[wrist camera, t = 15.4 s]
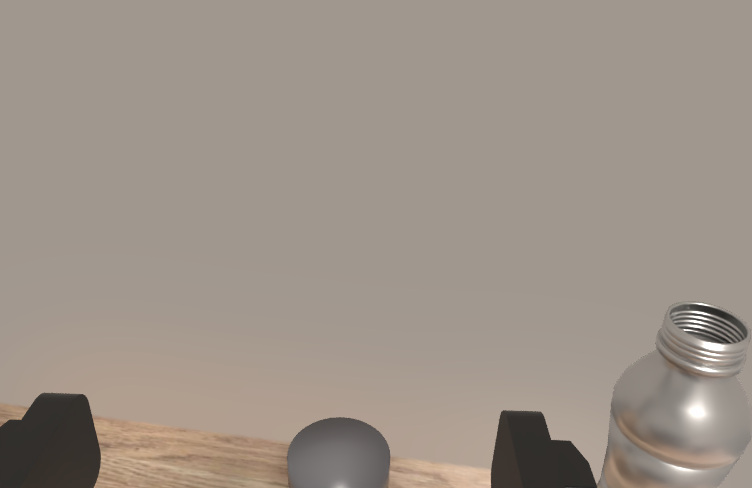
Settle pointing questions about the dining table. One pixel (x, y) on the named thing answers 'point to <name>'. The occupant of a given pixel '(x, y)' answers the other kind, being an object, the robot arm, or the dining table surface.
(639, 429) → the plastic bottle
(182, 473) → the dining table surface
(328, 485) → the plug
